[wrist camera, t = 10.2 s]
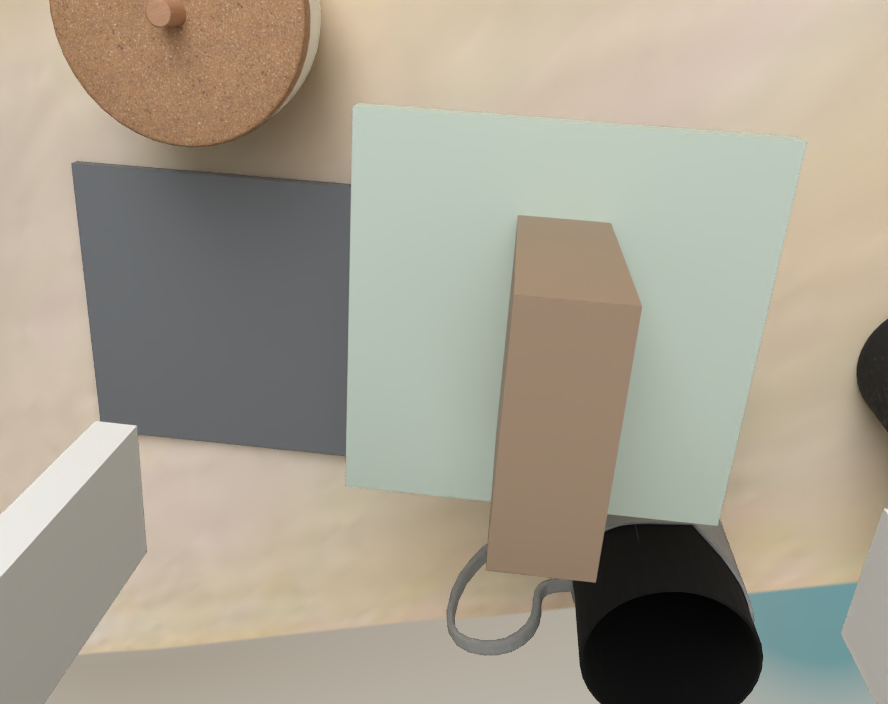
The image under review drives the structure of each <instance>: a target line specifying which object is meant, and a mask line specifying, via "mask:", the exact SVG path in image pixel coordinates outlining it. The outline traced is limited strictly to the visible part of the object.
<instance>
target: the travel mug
mask: <svg viewBox="0 0 888 704" xmlns="http://www.w3.org/2000/svg"><path fill="white" fill-rule="evenodd" d="M857 379H858V385H859V389H860V391H861V394H862V396H863V398H864V399H865V401H866V402H867V404H868V405H869V407H870V408H871V410H872V411H873V412H874V414H875V415H876V417H877V418H878V419H879V421H880V422H881V423H882V425H883V426H884V427H885V429H886V430H887V431H888V319H887V320H886V321H885V322H883V323H882V324H881V325H880V326H879V327H878V328H877V329H876V330H875V331H874V332H873V333H872V334H871V336H870V337H869V338H868V340H867V341H866V343H865V345H864V347H863V349H862V351H861V354H860V357H859V360H858V365H857Z"/></svg>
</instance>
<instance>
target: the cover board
mask: <svg viewBox="0 0 888 704" xmlns="http://www.w3.org/2000/svg"><path fill="white" fill-rule="evenodd" d="M806 144H807V141H805V140H803V139H801V138H799V137H793V136H780V135H767V134H754V133H741V132H728V131H715V130H703V129H690V128H677V127H664V126H651V125H638V124H625V123H612V122H599V121H586V120H574V119H561V118H548V117H535V116H522V115H509V114H496V113H483V112H470V111H457V110H444V109H432V108H419V107H406V106H393V105H380V104H367V103H358V104H356V105H354V106H353V116H352V168H351V219H350V271H349V323H348V375H347V427H346V479H345V486H348V487H357V488H367V489H376V490H385V491H395V492H404V493H414V494H423V495H432V496H442V497H451V498H460V499H470V500H479V501H489V502H491V507H490V520H489V534H488V547H487V560H486V570H487V571H496V572H504V573H513V574H522V575H531V576H540V577H549V578H558V579H567V580H576V581H585V582H594V583H596V578H597V573H598V567H599V561H600V555H601V549H602V543H603V537H604V531H605V525H606V519H607V514H610V515H620V516H629V517H639V518H648V519H657V520H667V521H676V522H685V523H695V524H704V525H714V526H718V523H719V519H720V514H721V510H722V506H723V502H724V497H725V493H726V489H727V484H728V480H729V476H730V471H731V467H732V463H733V458H734V454H735V450H736V446H737V441H738V437H739V433H740V428H741V424H742V420H743V415H744V411H745V407H746V402H747V398H748V394H749V390H750V385H751V381H752V377H753V372H754V368H755V364H756V359H757V355H758V351H759V346H760V342H761V338H762V334H763V329H764V325H765V321H766V316H767V312H768V308H769V303H770V299H771V295H772V291H773V286H774V282H775V278H776V273H777V269H778V265H779V260H780V256H781V252H782V247H783V243H784V239H785V235H786V230H787V226H788V222H789V217H790V213H791V209H792V204H793V200H794V196H795V191H796V187H797V183H798V179H799V174H800V170H801V166H802V161H803V157H804V153H805V148H806Z"/></svg>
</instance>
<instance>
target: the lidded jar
mask: <svg viewBox="0 0 888 704" xmlns="http://www.w3.org/2000/svg"><path fill="white" fill-rule="evenodd" d="M49 2H50V11H51V17H52V21H53V25H54V29H55V33H56V36H57V39H58V41H59V44H60V47H61V49H62V52H63V54H64V57H65V58H66V60H67V62H68V64H69V66H70V68H71V69H72V71H73V73H74V75H75V76H76V78H77V79H78V81H79V82H80V83H81V85H82V86H83V88H84V89H85V90H86V92H87V93H88V94H89V95H90V96H91V97H92V98H93V99H94V101H95V102H96V103H97V104H98V105H99V106H100V107H101V108H102V109H103V110H104V111H106V112H107V113H108V114H109V115H111V116H112V117H113V118H114V119H115V120H117V121H118V122H119V123H121V124H123V125H124V126H126V127H128V128H129V129H131V130H133V131H134V132H136V133H138V134H140V135H143V136H145V137H147V138H150V139H152V140H155V141H158V142H162V143H166V144H170V145H174V146H185V147H203V146H213V145H217V144H221V143H225V142H229V141H232V140H234V139H236V138H239V137H241V136H243V135H245V134H248V133H250V132H251V131H253V130H254V129H256V128H257V127H259V126H260V125H262V124H263V123H265V122H266V121H267V120H268V119H269V118H270V117H272V116H273V115H275V114H276V113H278V112H279V111H280V110H281V109H282V108H283V107H284V106H285V105H286V104H287V103H288V102H289V101H290V100H291V99H292V98H293V97H294V95H295V94H296V93H297V91H298V90H299V88H300V87H301V86H302V84H303V83H304V81H305V79H306V77H307V75H308V73H309V71H310V69H311V67H312V65H313V62H314V59H315V56H316V52H317V49H318V43H319V37H320V31H321V9H320V1H319V0H49Z"/></svg>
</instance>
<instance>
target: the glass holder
mask: <svg viewBox="0 0 888 704" xmlns="http://www.w3.org/2000/svg"><path fill="white" fill-rule="evenodd" d="M487 547H488V544H486V545H485V546H483V547H482V548H481V549H480V550H479V551H478V552H477V553H476V554H475V555H474V556H473V557H472V558H471V560H470V561H469V562H468V563H467V565H466V566H465V567H464V569H463V570H462V571H461V572H460V574H459V576H458V578H457V580H456V582H455V584H454V586H453V588H452V590H451V594H450V598H449V603H448V607H447V627H448V631H449V634H450V636H451V637H452V639H453V640H454V642H455V643H456V645H457V646H459V647H461V648H462V649H464V650H466V651H468V652H470V653H475V654H480V655H500V654H505V653H509V652H512V651H514V650H516V649H518V648H519V647H521V646H523V645H524V644H525V643H526V642H528V641H529V640H530V639H531V638H532V637H533V636H534V634H535V632H536V630H537V628H538V626H539V623H540V618H541V605H542V600H543V598H544V597H545V596H547V595H548V594H552V593H556V592H566V591H571V593H572V598H573V601H574V603H575V608H576V620H577V633H578V647H579V660H580V668H581V673H582V677H583V679H584V681H585V684H586V686H587V688H588V689H589V691H590V692H591V693H592V695H593V696H594V697H595V699H596V700H597V701H598V702H600V703H601V704H740V703H742V702H743V701H744V700H745V698H746V697H747V696H748V695H749V694H750V693H751V692H752V690H753V688H754V686H755V685H756V683H757V681H758V679H759V675H760V673H761V670H762V662H763V653H762V645H761V642H760V639H759V637H758V634H757V631H756V628H755V625H754V614H753V610H752V606H751V602H750V600H749V597H748V594H747V591H746V589H745V586H744V583H743V581H742V578H741V575H740V572H739V570H738V567H737V564H736V562H735V559H734V556H733V554H732V551H731V548H730V545H729V543H728V540H727V537H726V535H725V532H724V529H723V526H722V524H721V521H720V519H719V523H718V526H714V525H704V524H695V523H685V522H676V521H667V520H657V519H648V518H639V517H629V516H620V515H610V514H607V519H606V525H605V531H604V537H603V543H602V549H601V555H600V561H599V567H598V573H597V578H596V583H594V582H585V581H576V580H567V579H558V578H554V579H549V580H546V581H543V582H542V583H541V584H539V585H538V586H537V588H536V589H535V591H534V596H533V607H532V612H531V615H530V617H529V619H528V621H527V623H526V624H525V625H524V626H523V627H522V628H520V629H519V630H518V631H517V632H515V633H513V634H512V635H510V636H508V637H506V638H502V639H498V640H479V639H473V638H469V637H467V636H465V635H463V634H462V633H459V632H458V630H457V628H456V627H455V614H456V609H457V605H458V601H459V599H460V597H461V595H462V593H463V591H464V589H465V587H466V585H467V583H468V582H469V581H470V579H471V578H472V577H473V576H474V574H475V573H476V572H477V570H478V569H479V568H480V567H481V566H482V565H483V564H484V563H485V562H486V560H487Z"/></svg>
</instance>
